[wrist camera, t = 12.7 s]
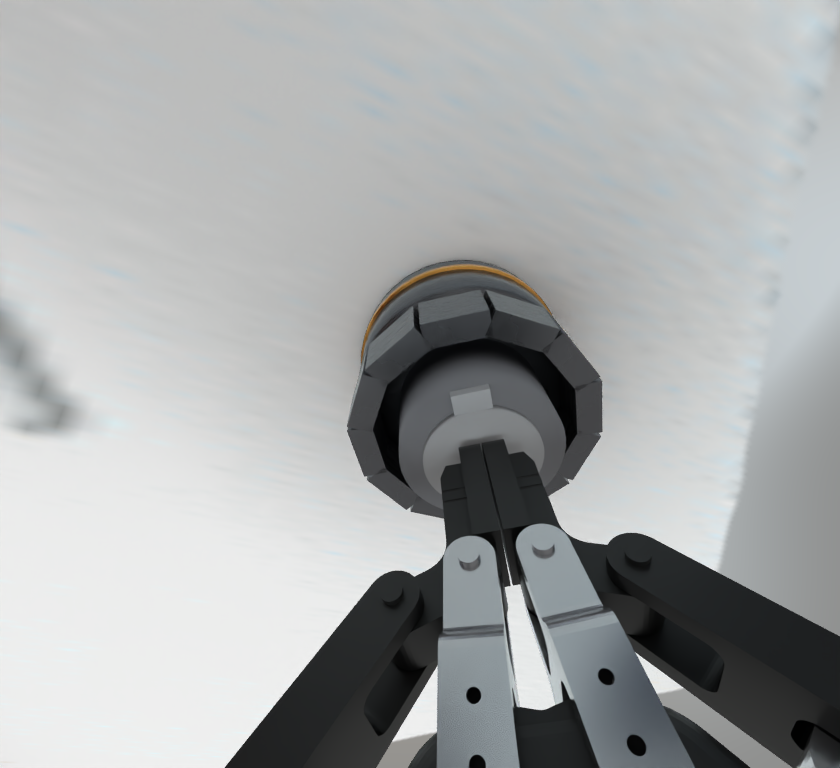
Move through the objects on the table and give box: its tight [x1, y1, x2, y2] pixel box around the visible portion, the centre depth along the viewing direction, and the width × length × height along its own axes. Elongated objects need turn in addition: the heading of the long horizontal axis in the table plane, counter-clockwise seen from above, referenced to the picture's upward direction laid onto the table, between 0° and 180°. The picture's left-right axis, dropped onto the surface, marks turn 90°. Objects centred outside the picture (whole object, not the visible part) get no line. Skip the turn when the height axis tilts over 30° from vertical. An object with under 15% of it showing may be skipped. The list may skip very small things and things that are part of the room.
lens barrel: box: [347, 260, 602, 518], centre depth 18 cm, size 9×9×6 cm
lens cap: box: [399, 338, 566, 509], centre depth 16 cm, size 6×6×4 cm
